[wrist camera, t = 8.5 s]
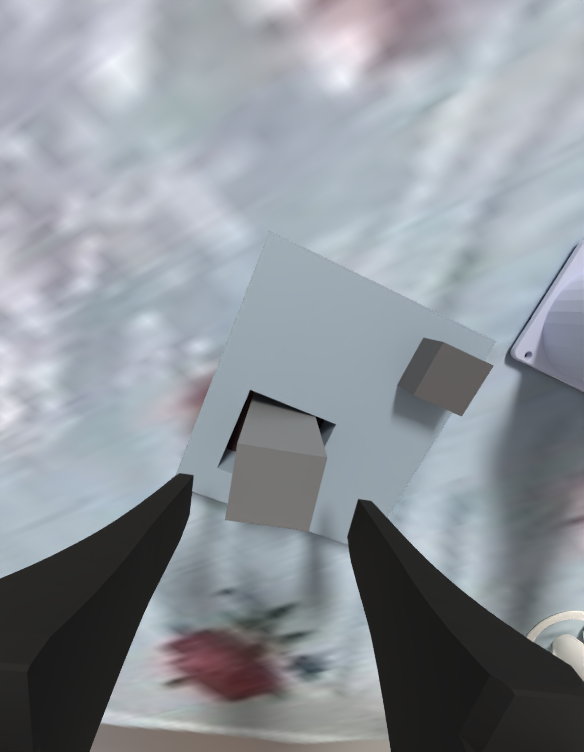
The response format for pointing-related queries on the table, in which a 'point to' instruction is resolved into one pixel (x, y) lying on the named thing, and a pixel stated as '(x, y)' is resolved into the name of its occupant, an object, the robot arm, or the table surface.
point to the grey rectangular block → (276, 466)
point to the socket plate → (338, 379)
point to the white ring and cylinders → (564, 641)
